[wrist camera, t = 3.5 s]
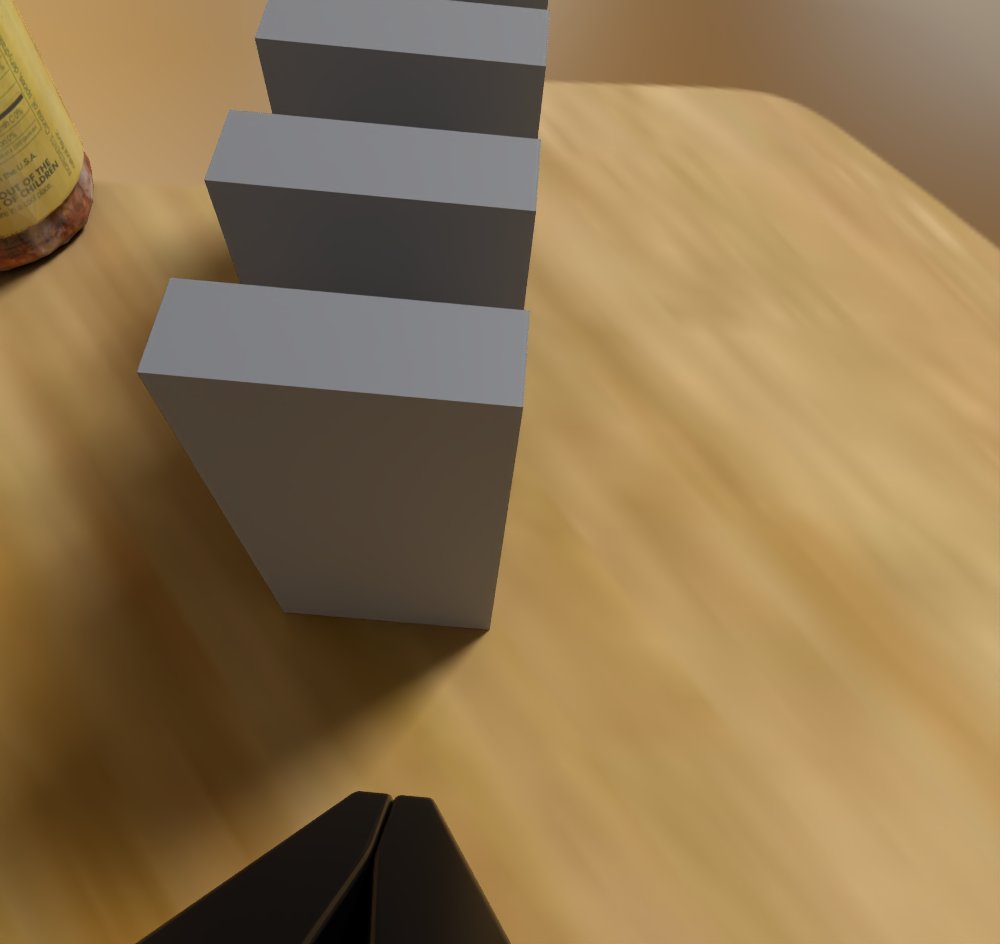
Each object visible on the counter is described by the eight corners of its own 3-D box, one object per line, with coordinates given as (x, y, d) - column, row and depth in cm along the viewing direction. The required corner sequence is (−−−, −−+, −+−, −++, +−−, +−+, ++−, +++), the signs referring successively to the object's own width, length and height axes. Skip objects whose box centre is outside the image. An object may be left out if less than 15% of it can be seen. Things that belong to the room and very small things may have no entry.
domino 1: (508, 390, 22) (545, 66, 13) (333, 374, 22) (255, 38, 13) (511, 345, 23) (549, 9, 14) (342, 330, 23) (274, -18, 14)
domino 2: (500, 500, 21) (535, 211, 12) (310, 483, 20) (204, 179, 12) (504, 448, 21) (541, 139, 13) (321, 431, 21) (229, 110, 12)
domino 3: (489, 629, 19) (523, 407, 10) (283, 611, 19) (136, 371, 10) (494, 568, 20) (530, 310, 11) (296, 550, 20) (170, 277, 11)
